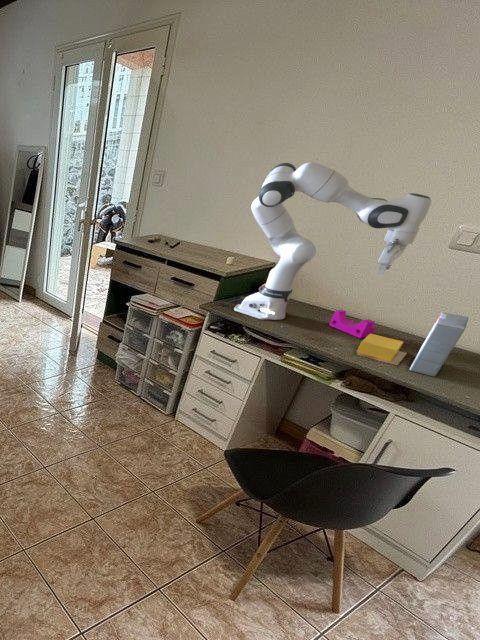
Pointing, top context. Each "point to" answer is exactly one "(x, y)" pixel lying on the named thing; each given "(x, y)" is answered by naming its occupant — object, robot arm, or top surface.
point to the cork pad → (394, 361)
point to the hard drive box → (439, 343)
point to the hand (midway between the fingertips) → (383, 271)
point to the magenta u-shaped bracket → (352, 325)
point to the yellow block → (380, 347)
